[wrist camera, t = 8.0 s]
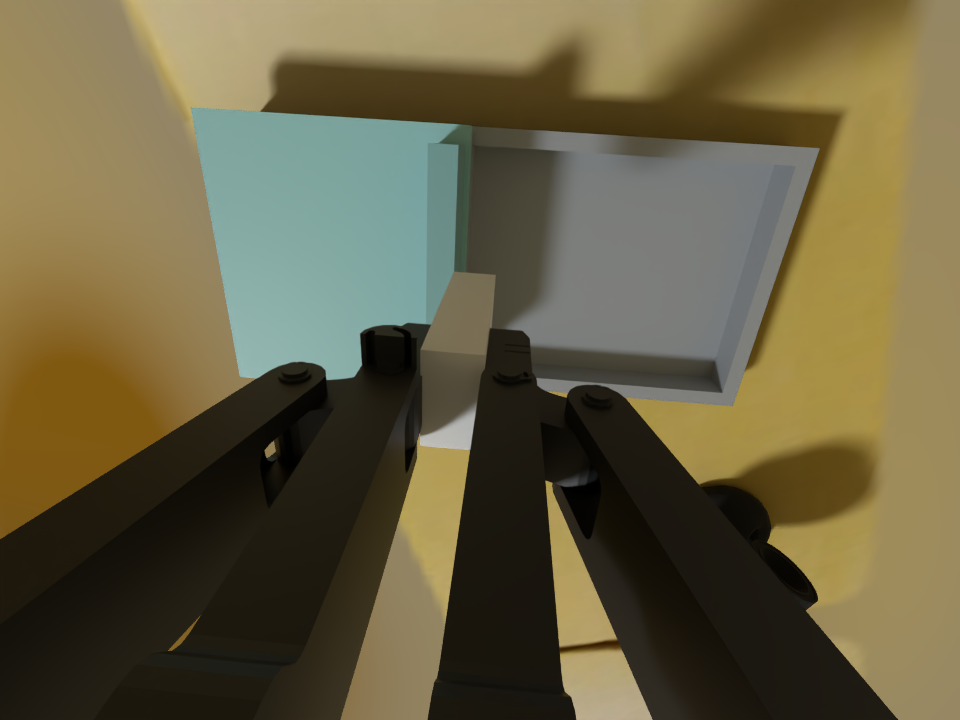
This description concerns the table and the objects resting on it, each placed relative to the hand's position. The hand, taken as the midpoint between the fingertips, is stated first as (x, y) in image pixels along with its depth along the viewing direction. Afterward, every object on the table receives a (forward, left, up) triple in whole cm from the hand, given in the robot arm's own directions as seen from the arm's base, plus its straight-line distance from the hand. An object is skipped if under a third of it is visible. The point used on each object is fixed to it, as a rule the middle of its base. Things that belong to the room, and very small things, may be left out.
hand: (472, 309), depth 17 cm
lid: (+1, -7, -8) cm, 10 cm away
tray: (+1, +1, -10) cm, 11 cm away
